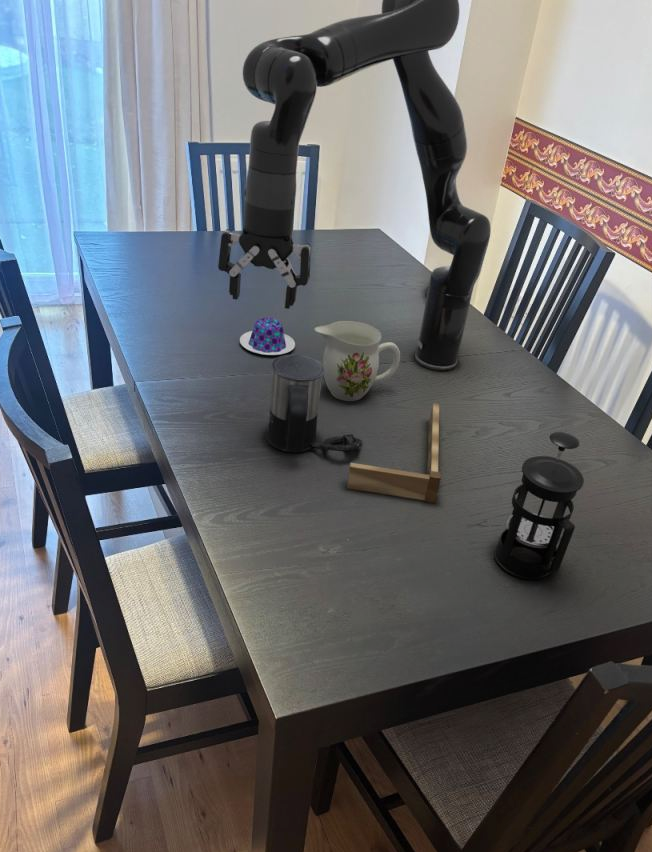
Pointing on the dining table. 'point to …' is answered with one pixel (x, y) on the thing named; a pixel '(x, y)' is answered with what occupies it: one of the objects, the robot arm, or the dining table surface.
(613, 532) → the dining table surface
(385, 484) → the corner rail
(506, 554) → the french press
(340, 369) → the pitcher
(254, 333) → the pudding
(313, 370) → the milk frother
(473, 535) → the dining table surface
